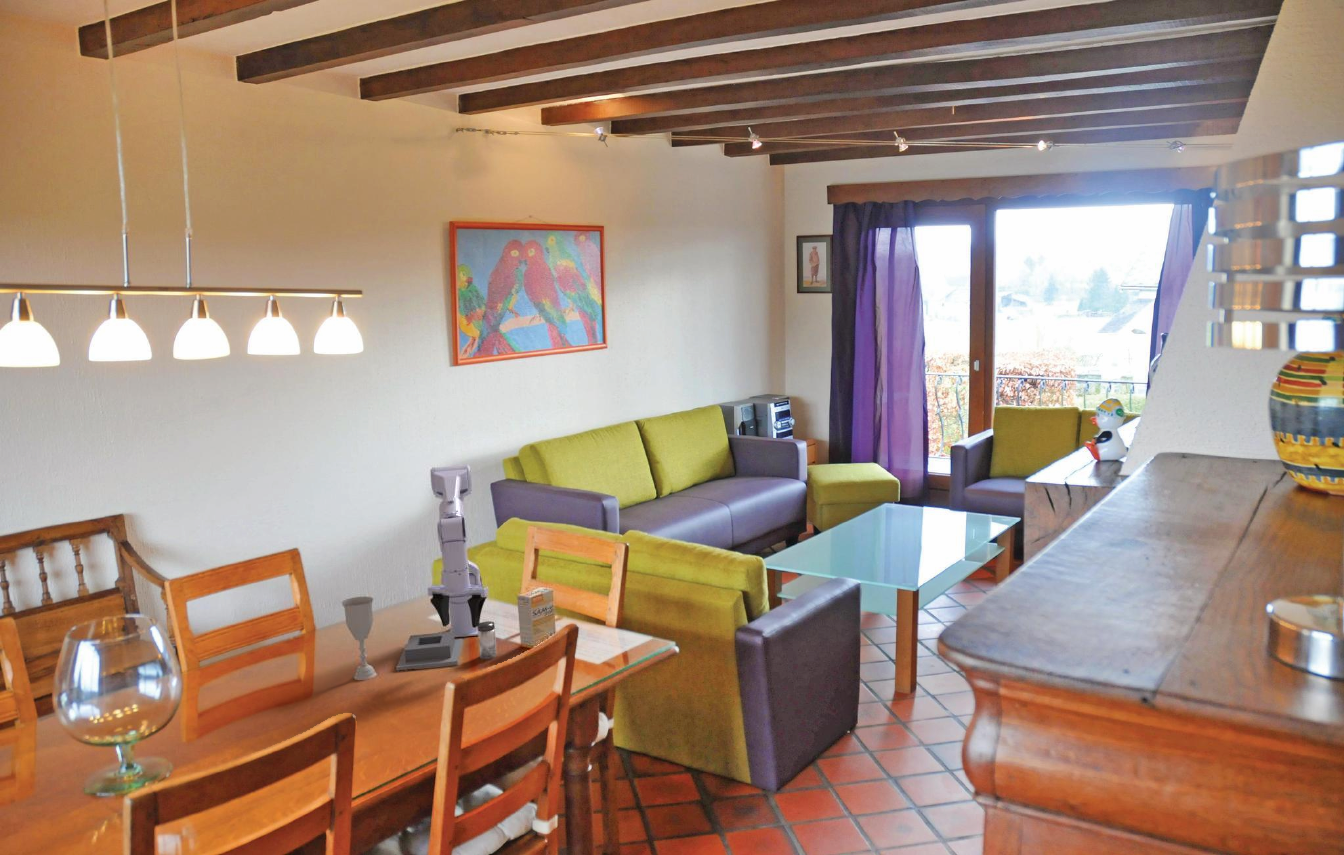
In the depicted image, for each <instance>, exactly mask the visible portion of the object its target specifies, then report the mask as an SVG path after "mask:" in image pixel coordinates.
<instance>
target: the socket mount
mask: <svg viewBox="0 0 1344 855" xmlns="http://www.w3.org/2000/svg"><path fill="white" fill-rule="evenodd" d="M463 644H464V639H463V638H458V639H455V638H454V631H453V632H450V631H445V632H433V633H424V634H415V635H410V636H409V638H408V640H407V643H406V644H405V645H404V648H403V650H402V653H401V655H400V657H399V661H398V662H397V665H396V668H395V669H396V672H400V671H399V670H405V671H408V670H407V669H415V670H424V669H433V668H442V667H452V666H453V667H454V666H458V665H459V662H460V657H461V653H462V650H463Z"/></svg>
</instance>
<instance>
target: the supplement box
mask: <svg viewBox="0 0 1344 855" xmlns="http://www.w3.org/2000/svg"><path fill="white" fill-rule="evenodd" d="M516 600H517V612H518V613H517V614H518V625H519V626H518V627H519V636H520V637H519V638H520V639H519V640H520V646H521V647H523V648H528V649H532V648H533V647H534V646H537V645H538V644H540V643H541V642H543V641H545V640H546V639H548V638H549V637H550V636H552V635H553V634H555V633H556V634H557V630H556V616H555V615H556V614H555V602H554V601H555V600H554V588H549V587H543V586H540V587H537V588H534V589H532V590H531V589H530V590H529V591H526V592H523V593H520V594H516Z"/></svg>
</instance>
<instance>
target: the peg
mask: <svg viewBox="0 0 1344 855" xmlns="http://www.w3.org/2000/svg"><path fill="white" fill-rule="evenodd" d="M480 622H481V623H479V625H478V626H477V627H478V635H477V637H478V647H479V657H480V659H481V660H492V659H494V658H496V657H498V650H497V648H498V647H497V638H496V628H495V626H496V625H495V622H494V621H480Z"/></svg>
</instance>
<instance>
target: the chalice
mask: <svg viewBox="0 0 1344 855" xmlns="http://www.w3.org/2000/svg"><path fill="white" fill-rule="evenodd" d="M373 601H374V598H373V597H372V596H356V597H355V596H354V597H351V598H347V599H346V598H345V599H344V600H342V601H341V605H342V606H343V608H344V617H345V624H346V627H347V629H348V631H349V632H350V634H351V635H352V637H353V638H354V640H356V641H359V648H358V650H359V651H360V655H359V658H360V659H361V664H360V665H359V666H357V668H356V671H355V674H354V677H353V679H354V680H356V681H367V680H370V679H374V678H375V677H376V676H377V675H378V674H377V673H376V670H375V668H374V667H373V666H372V665H371V664H369V663H367V657H368V654H366V649H367V646H366V645H365V640H367V639H368V638H369V635H370V632H371V631H372V630H371V629H372V626H373V622H374V614H373V607H372V604H373Z"/></svg>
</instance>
